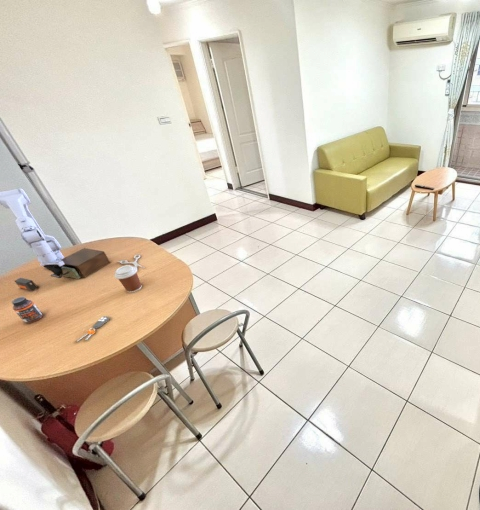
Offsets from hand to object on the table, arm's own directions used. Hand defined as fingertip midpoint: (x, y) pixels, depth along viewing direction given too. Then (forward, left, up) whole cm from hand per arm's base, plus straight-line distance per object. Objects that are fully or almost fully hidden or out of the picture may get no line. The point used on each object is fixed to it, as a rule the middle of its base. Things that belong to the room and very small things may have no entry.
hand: (60, 274), depth 140 cm
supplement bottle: (+15, -23, -4) cm, 28 cm away
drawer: (0, +7, -3) cm, 8 cm away
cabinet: (0, +12, -4) cm, 13 cm away
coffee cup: (+40, +5, -4) cm, 41 cm away
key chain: (+47, -21, -4) cm, 52 cm away
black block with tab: (-12, -9, -4) cm, 15 cm away
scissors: (+22, +22, -4) cm, 32 cm away
